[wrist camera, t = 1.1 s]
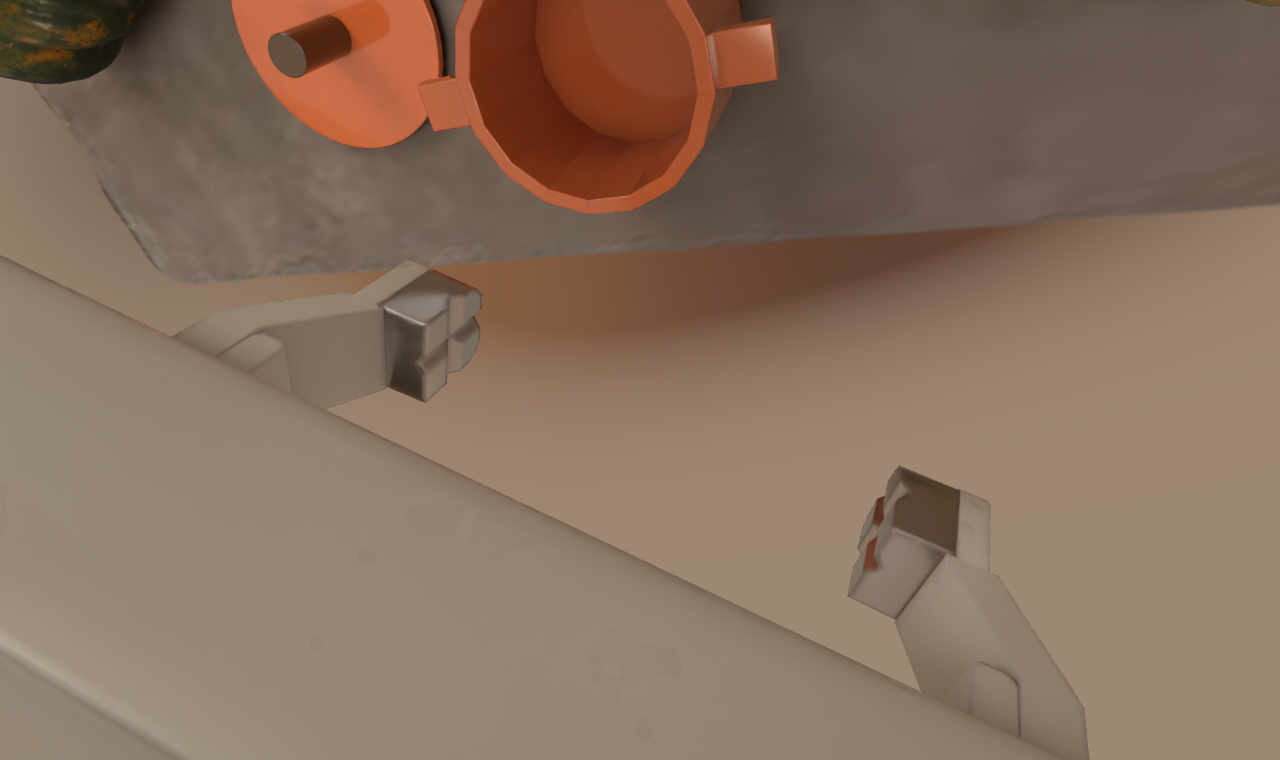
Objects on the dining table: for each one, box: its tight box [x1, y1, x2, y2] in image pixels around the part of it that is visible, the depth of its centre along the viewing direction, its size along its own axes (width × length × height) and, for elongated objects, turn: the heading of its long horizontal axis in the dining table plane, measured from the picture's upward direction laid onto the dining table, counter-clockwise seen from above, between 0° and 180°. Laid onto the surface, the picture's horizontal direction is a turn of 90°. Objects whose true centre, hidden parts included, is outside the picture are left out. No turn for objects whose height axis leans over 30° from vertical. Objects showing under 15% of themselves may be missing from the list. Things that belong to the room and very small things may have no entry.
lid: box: [231, 0, 443, 148], centre depth 43 cm, size 14×14×6 cm
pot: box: [417, 0, 780, 214], centre depth 37 cm, size 13×18×9 cm
